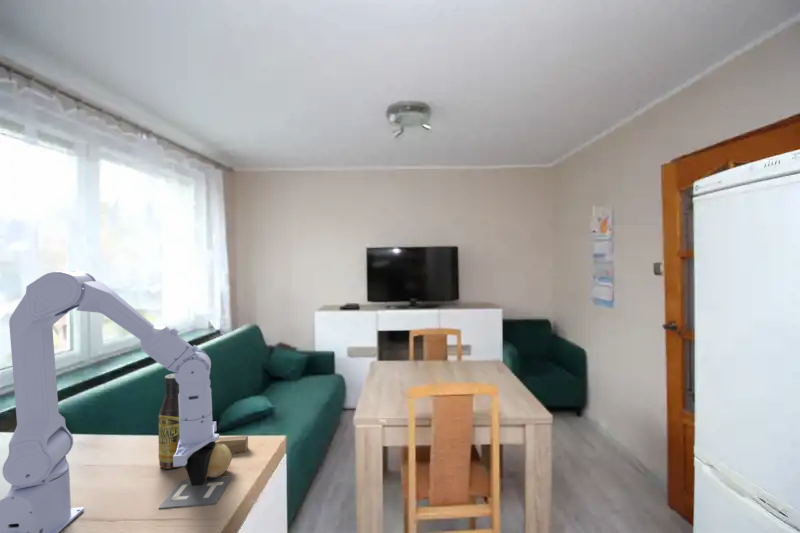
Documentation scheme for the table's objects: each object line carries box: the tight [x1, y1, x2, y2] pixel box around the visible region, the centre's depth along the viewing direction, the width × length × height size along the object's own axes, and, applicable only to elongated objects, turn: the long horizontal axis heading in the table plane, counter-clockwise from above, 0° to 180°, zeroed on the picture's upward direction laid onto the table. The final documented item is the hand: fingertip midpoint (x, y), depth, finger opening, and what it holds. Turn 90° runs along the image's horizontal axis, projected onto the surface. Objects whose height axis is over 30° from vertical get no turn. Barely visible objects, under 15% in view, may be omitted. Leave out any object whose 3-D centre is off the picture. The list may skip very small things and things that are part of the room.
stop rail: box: [218, 435, 249, 454], centre depth 91 cm, size 2×9×3 cm, turn 95°
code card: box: [158, 475, 233, 510], centre depth 75 cm, size 9×10×1 cm
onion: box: [205, 439, 233, 481], centre depth 81 cm, size 8×8×7 cm
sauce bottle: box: [158, 372, 181, 470], centre depth 86 cm, size 7×6×20 cm
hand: (198, 483), depth 76 cm, fingers closed
